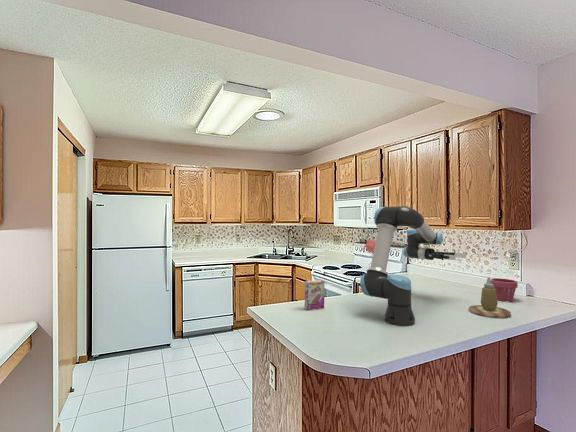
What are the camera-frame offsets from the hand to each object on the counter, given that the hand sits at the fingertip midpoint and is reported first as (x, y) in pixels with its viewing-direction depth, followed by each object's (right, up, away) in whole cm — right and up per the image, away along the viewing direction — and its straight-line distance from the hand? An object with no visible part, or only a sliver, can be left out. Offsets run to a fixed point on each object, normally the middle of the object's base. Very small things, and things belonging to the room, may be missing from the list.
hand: (460, 256), depth 190 cm
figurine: (-31, -31, +84) cm, 95 cm away
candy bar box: (-88, -31, -1) cm, 93 cm away
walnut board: (+9, -30, -12) cm, 34 cm away
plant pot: (+36, -30, +15) cm, 49 cm away
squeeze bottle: (+9, -28, -12) cm, 32 cm away
